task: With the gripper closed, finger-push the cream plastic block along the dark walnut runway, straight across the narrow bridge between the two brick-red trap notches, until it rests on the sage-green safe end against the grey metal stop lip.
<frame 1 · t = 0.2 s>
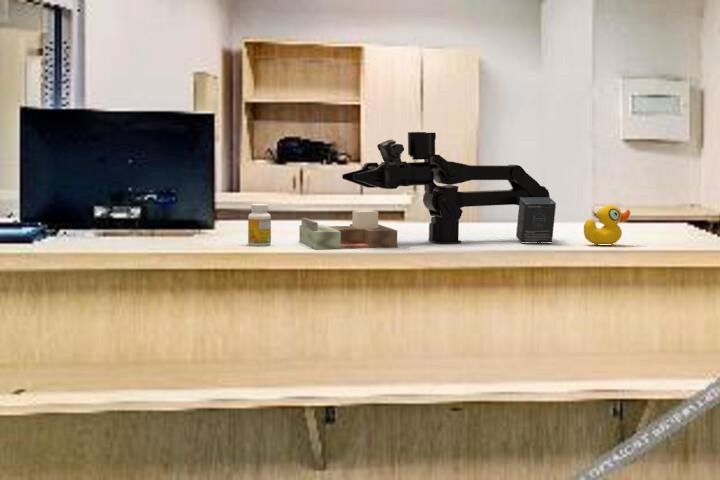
hand: (347, 176, 224), 16 cm above the worktop, tool horizontal, fingers open, 9 cm apart
box: (533, 240, 235), on the worktop, touching arm
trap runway: (347, 244, 227), on the worktop
supplement bottle: (259, 245, 224), on the worktop
cream block: (365, 227, 228), point 4 cm above the worktop, touching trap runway
duckling: (605, 246, 231), on the worktop
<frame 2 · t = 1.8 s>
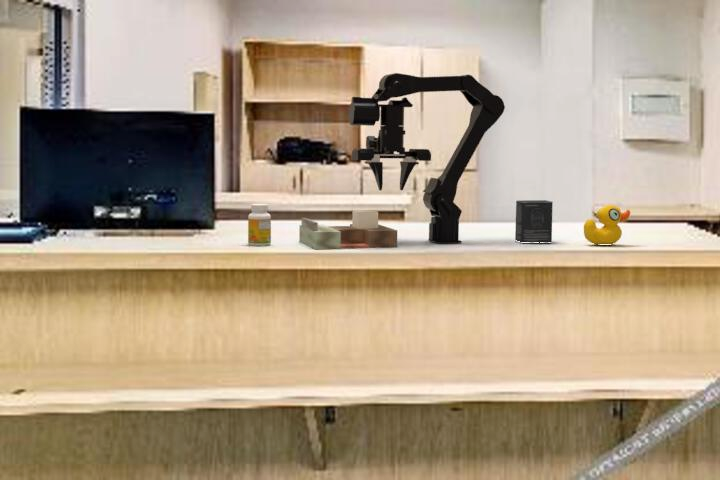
hand: (390, 190, 229), 13 cm above the worktop, tool pointing down, fingers open, 5 cm apart
box: (533, 243, 235), on the worktop
everything else where it was.
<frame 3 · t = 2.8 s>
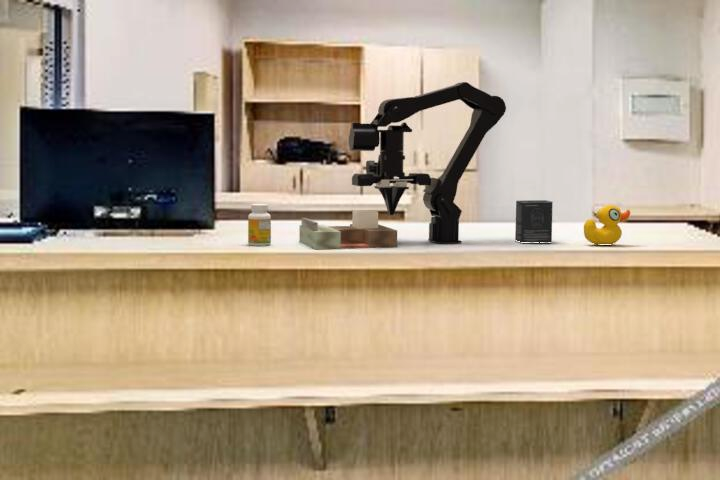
hand: (391, 214, 230), 7 cm above the worktop, tool pointing down, fingers closed
nothing on the worktop moved.
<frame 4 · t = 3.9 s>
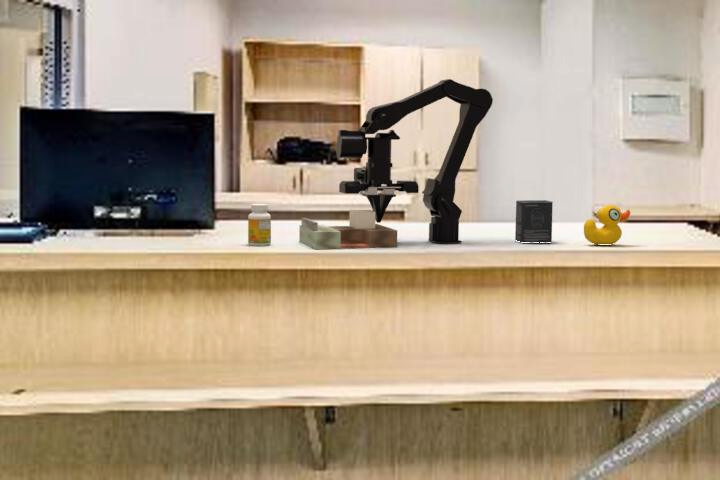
hand: (378, 222, 229), 5 cm above the worktop, tool pointing down, fingers closed
cream block: (362, 227, 228), point 4 cm above the worktop, touching gripper
everything else where it was.
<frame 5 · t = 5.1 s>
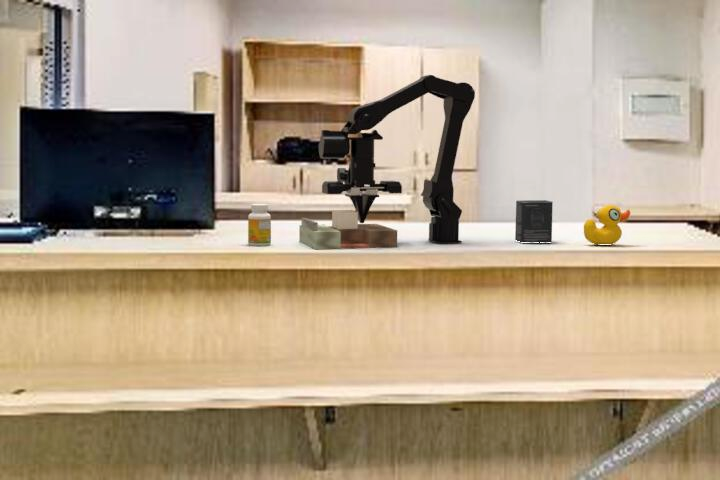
hand: (361, 223, 228), 5 cm above the worktop, tool pointing down, fingers closed
cream block: (344, 227, 226), point 4 cm above the worktop, touching gripper, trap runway
everything else where it was.
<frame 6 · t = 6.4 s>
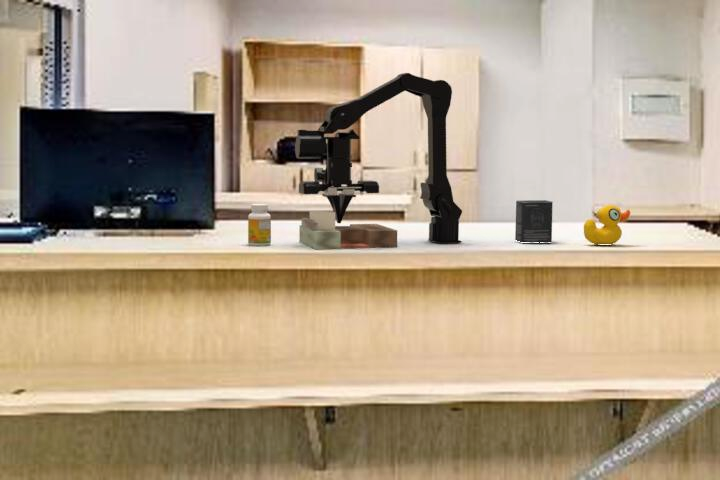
hand: (338, 223, 226), 5 cm above the worktop, tool pointing down, fingers closed
cream block: (322, 228, 225), point 4 cm above the worktop, touching gripper, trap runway
everything else where it was.
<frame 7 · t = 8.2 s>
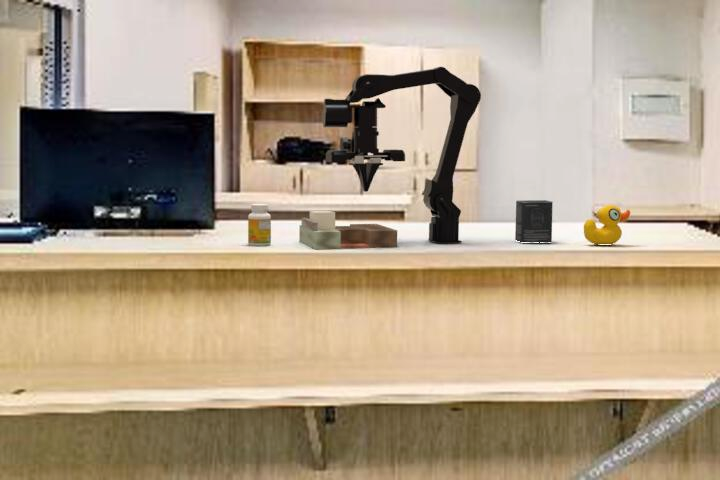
hand: (365, 191, 229), 13 cm above the worktop, tool pointing down, fingers closed
cream block: (322, 228, 225), point 4 cm above the worktop, touching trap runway
everything else where it was.
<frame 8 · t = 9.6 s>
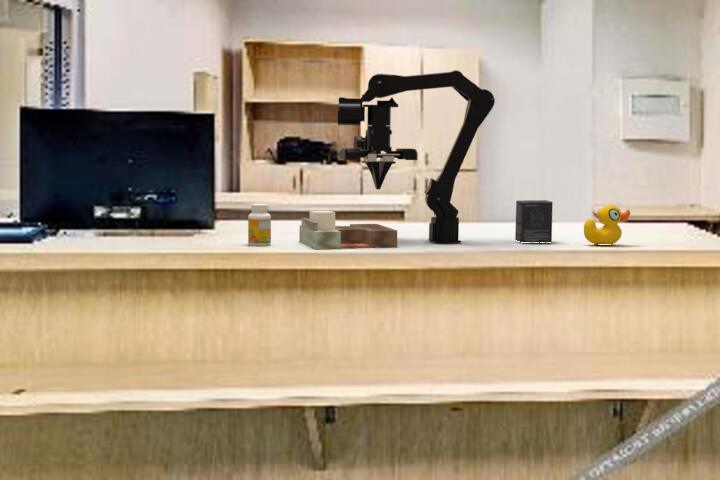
hand: (378, 189, 232), 13 cm above the worktop, tool pointing down, fingers closed
nothing on the worktop moved.
at the end: cream block 0.1 cm from the target spot on the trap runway, point 4.0 cm above the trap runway's base; cream block touching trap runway; cream block tilted 0° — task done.
